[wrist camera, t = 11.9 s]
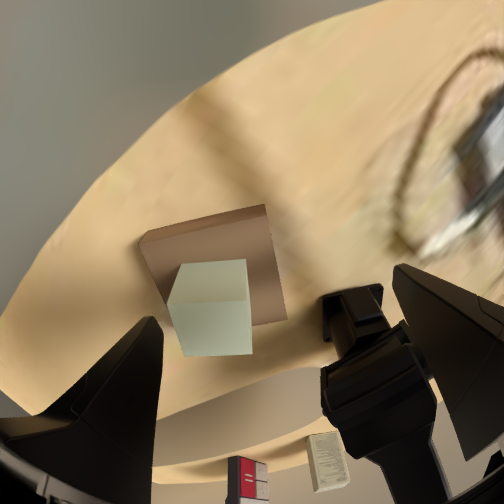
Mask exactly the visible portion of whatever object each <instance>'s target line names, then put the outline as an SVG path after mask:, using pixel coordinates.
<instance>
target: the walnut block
mask: <svg viewBox="0 0 504 504" xmlns="http://www.w3.org/2000/svg"><path fill="white" fill-rule="evenodd" d="M138 245H139V247H140V250H141V252H142V254H143V257H144V259H145V261H146V263H147V266H148V268H149V270H150V272H151V275H152V277H153V279H154V281H155V283H156V285H157V288H158V290H159V292H160V294H161V296H162V298H163V300H164V302H165V304H166V306H167V302H168V299H169V296H170V293H171V291H172V288H173V285H174V282H175V280H176V277H177V274H178V272H179V269H180V266H181V264H187V263H200V262H213V261H226V260H239V259H246V265H247V275H248V285H249V295H250V305H251V323H252V326H256V325H262V324H267V323H273V322H278V321H283V320H287V314H286V309H285V304H284V299H283V293H282V288H281V283H280V278H279V273H278V267H277V262H276V257H275V252H274V247H273V242H272V238H271V233H270V228H269V223H268V218H267V213H266V209H265V204H261V205H256V206H251V207H247V208H242V209H237V210H233V211H228V212H224V213H219V214H215V215H211V216H206V217H202V218H198V219H193V220H189V221H185V222H181V223H177V224H173V225H169V226H165V227H161V228H157V229H153V230H149V231H148V232H147V233H146V235H145V236H144V237H143V239H142V240H141V242H140V243H139V244H138ZM167 308H168V307H167Z"/></svg>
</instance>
